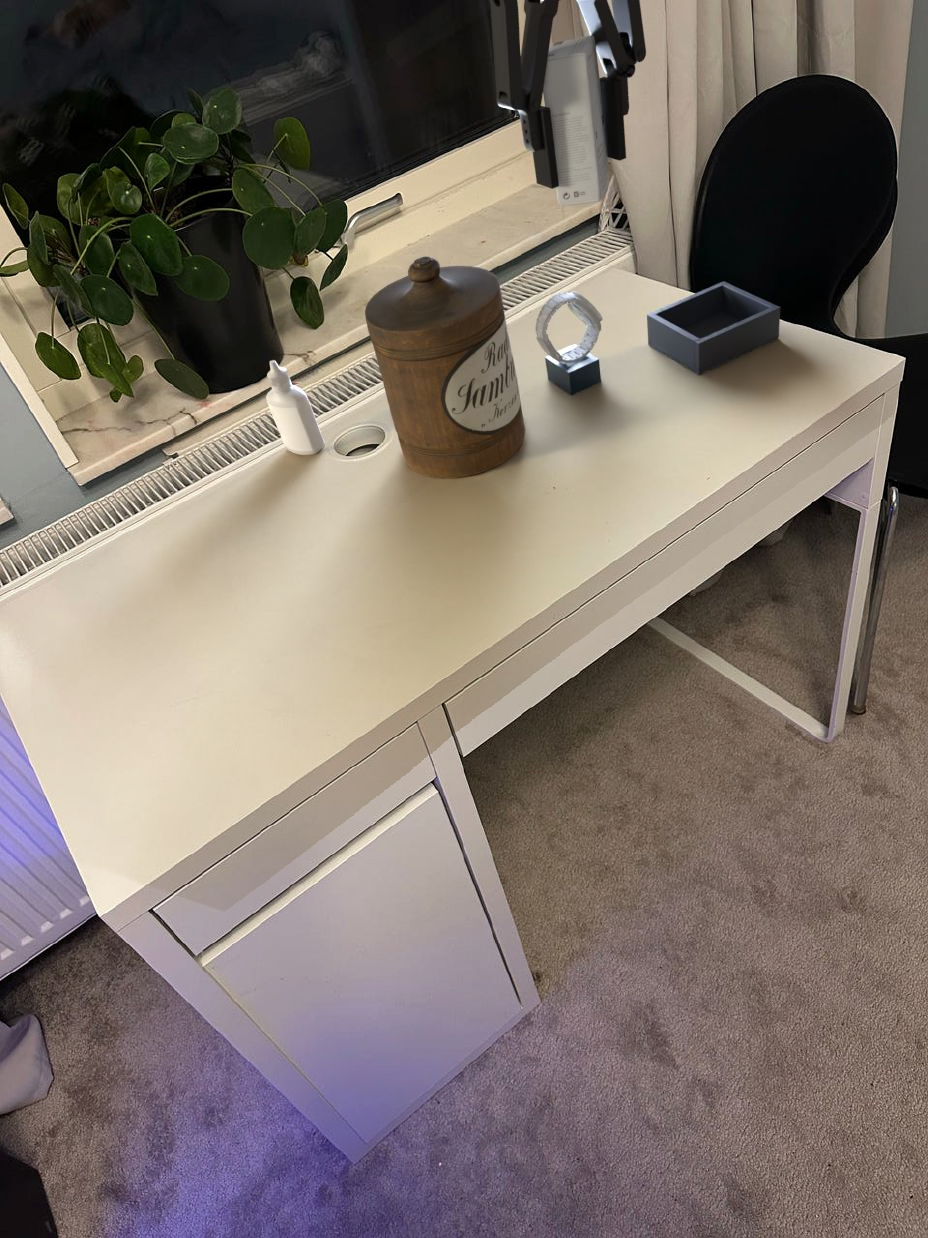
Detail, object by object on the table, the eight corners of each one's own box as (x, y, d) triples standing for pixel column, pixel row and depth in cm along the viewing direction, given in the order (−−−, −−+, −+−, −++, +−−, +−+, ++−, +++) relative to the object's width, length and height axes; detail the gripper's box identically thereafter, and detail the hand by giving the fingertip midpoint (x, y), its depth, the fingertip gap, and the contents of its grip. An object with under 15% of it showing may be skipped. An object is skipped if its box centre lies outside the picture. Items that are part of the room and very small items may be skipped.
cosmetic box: (602, 202, 78) (590, 50, 70) (555, 208, 80) (537, 60, 71) (610, 177, 82) (599, 31, 74) (565, 183, 84) (549, 41, 75)
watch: (614, 375, 104) (607, 289, 97) (559, 401, 103) (547, 315, 95) (589, 360, 108) (580, 276, 101) (535, 384, 106) (522, 301, 99)
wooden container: (500, 484, 93) (460, 291, 78) (384, 475, 99) (325, 294, 84) (542, 409, 102) (514, 224, 87) (433, 405, 108) (388, 231, 93)
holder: (778, 339, 102) (780, 307, 100) (699, 375, 100) (698, 343, 98) (723, 311, 110) (723, 280, 107) (648, 344, 108) (646, 314, 105)
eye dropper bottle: (297, 463, 105) (262, 377, 96) (283, 445, 109) (248, 360, 100) (329, 449, 106) (296, 362, 97) (313, 431, 109) (281, 346, 101)
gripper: (626, -180, 69) (642, 129, 84) (414, -114, 64) (472, 199, 80) (687, -191, 63) (691, 141, 79) (460, -120, 59) (512, 216, 75)
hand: (581, 170), depth 80 cm, fingers closed on cosmetic box, 7 cm apart
